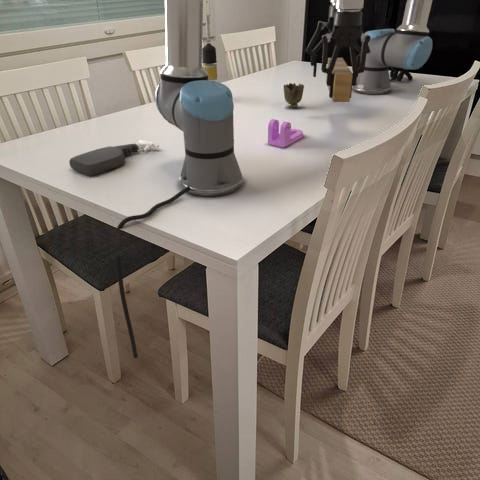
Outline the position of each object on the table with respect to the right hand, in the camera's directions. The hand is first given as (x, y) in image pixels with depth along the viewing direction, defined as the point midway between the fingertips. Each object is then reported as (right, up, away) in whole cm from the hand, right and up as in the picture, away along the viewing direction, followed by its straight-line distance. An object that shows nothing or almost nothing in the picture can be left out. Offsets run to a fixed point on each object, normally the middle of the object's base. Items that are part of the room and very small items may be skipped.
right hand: (335, 76), depth 147 cm
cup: (-12, -5, +19) cm, 23 cm away
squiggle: (+40, +18, +53) cm, 69 cm away
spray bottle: (-66, -32, -22) cm, 76 cm away
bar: (-1, -7, -6) cm, 9 cm away
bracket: (-17, -24, -11) cm, 31 cm away
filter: (-43, +3, +32) cm, 53 cm away
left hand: (-1, -11, -13) cm, 17 cm away
